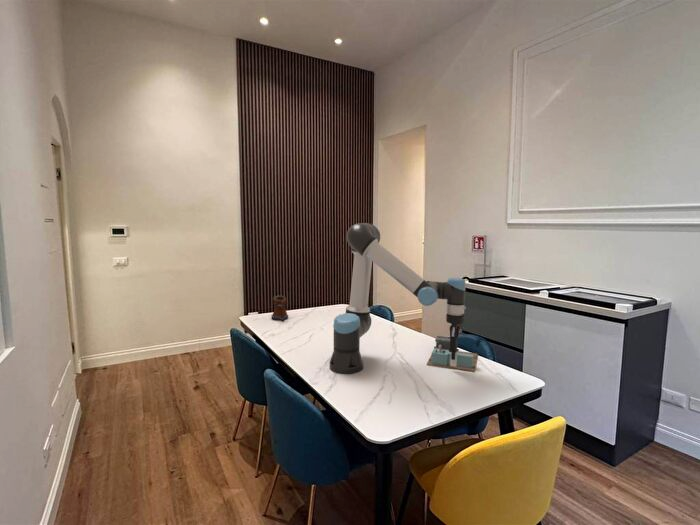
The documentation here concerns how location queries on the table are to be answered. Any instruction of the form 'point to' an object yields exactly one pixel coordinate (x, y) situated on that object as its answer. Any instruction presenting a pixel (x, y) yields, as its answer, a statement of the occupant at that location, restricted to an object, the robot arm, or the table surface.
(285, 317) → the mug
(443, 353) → the link
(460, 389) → the table surface
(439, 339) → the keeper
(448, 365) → the board
